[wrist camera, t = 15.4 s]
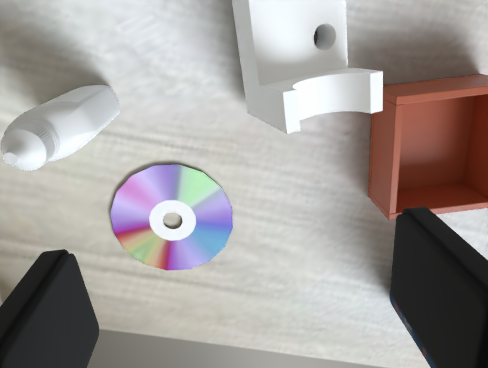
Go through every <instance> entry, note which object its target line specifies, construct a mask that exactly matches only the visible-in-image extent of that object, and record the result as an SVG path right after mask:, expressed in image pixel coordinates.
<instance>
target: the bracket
mask: <svg viewBox="0 0 488 368" xmlns="http://www.w3.org/2000/svg"><path fill="white" fill-rule="evenodd" d="M232 6H233V13H234V20H235V27H236V34H237V41H238V48H239V55H240V62H241V70H242V77H243V84H244V91H245V98H246V105H247V112H248V114H250V115H252V116H254V117H256V118H258V119H260V120H262V121H263V122H265V123H267V124H269V125H271V126H273V127H275V128H277V129H278V130H280V131H282V132H284V133H286V134H289V133H293V132H297V131H301V130H300V121H301V120H303V119H305V118H308V117H311V116H314V115H318V114H323V113H330V112H341V111H357V112H366V113H370V114H371V113H375V112H379V111H383V71H378V70H369V69H360V68H351V67H348V60H347V24H346V0H232ZM315 30H317V33H318V39H317V42H316V44H315V43H314V33H315Z"/></svg>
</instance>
